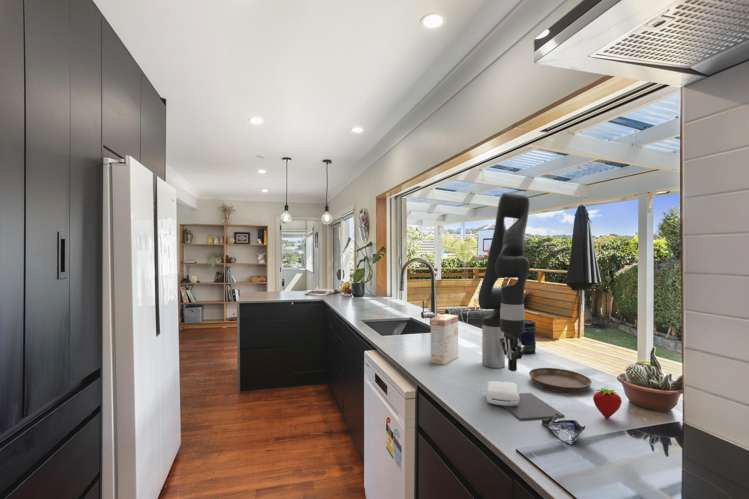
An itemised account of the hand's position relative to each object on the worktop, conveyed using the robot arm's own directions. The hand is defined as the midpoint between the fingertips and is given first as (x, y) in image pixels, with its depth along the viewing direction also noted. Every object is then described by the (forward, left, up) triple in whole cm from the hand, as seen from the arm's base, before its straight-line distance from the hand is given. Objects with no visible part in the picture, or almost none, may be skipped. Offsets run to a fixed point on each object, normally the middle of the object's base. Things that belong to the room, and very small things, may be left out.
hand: (512, 370), depth 124 cm
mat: (+4, +2, -10) cm, 11 cm away
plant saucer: (-12, +25, -10) cm, 30 cm away
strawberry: (+16, +21, -10) cm, 28 cm away
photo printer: (-5, -1, -7) cm, 9 cm away
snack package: (+22, +2, -11) cm, 25 cm away
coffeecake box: (-49, -6, -10) cm, 50 cm away
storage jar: (-56, +37, -10) cm, 68 cm away
